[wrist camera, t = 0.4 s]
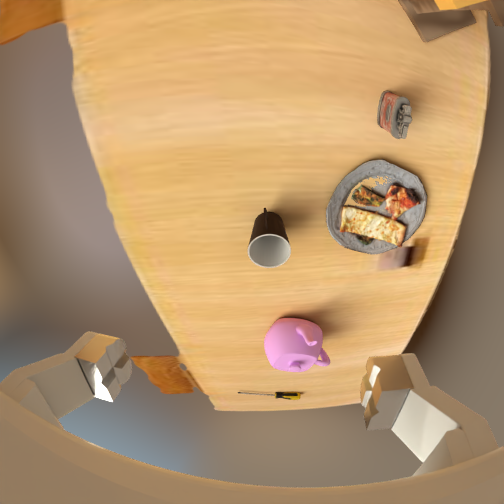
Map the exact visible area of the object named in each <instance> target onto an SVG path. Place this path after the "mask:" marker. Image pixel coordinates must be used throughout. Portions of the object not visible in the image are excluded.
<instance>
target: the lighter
mask: <svg viewBox="0 0 504 504" xmlns="http://www.w3.org/2000/svg"><path fill="white" fill-rule="evenodd" d="M411 109H412V108H411V107H410V102H409V100H408V99H407V98H405V97H403V96H398V95H395V94H393V93H392V92H390V91H384V92H383V93H382V94H381V97H380V100H379V105H378V113H377V121H378V125H379V126H380V127H381V128H383V129H385V130H387V131H388V132H390V133H391V135H392V136H393V137H395V138H397V139H400V138H402V139H405V138H406V136H407V131H408V126H409V124H410V123H411V121H412V117H411Z"/></svg>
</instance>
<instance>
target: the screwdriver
mask: <svg viewBox="0 0 504 504" xmlns="http://www.w3.org/2000/svg"><path fill="white" fill-rule="evenodd" d="M238 393H241V394H254V395H270V396H275V398H284V399H289V400H298V399H300V396H301V395H300V393H299V392H285V393H278V392H276V393H275V395H273V394H256V393H244V392H238Z"/></svg>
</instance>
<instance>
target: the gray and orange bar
mask: <svg viewBox="0 0 504 504" xmlns="http://www.w3.org/2000/svg"><path fill="white" fill-rule="evenodd" d="M434 1H435V3H436V4H437V6H438V8H439V9H440V10H449V9H459V8H462V7H465V6H469V5H472V4H476V3H479V2H483V1H487V0H434Z"/></svg>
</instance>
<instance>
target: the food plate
mask: <svg viewBox="0 0 504 504" xmlns="http://www.w3.org/2000/svg"><path fill="white" fill-rule="evenodd" d="M377 176H379V179H380V177H383V179H384V180H385V178H386V177H384V176H387V177H388V178H386V179H387V181H386V180H385V182H387V184H385V182H384V183H383V185H382V184H379V182H378V181H375V182H376V185H377V186H376V187H375V188H373V187H372V188H371V189H372V191H371V190H369V189H367V188H365V187H364V186H362V185H361V187H359V188H358V189H355V191H354V192H353V195H352V197H351V198H352V199H353V200H354V201H355V202H356V203H358V204H359V203H360V204H363V205H365V206H366V207H359V206H351V205H348V206H346V205H345V206H344V204H345V202H346V200H347V198H348V196H349V194H350V192H351V190H352V189H353V188H354V187H355V186H356V185H357V184H358V183H359V182H362V180H364V179H369V177H372V178H378V177H377ZM389 178H391V179H389ZM395 180H396V181H395ZM390 181H391V182H390ZM388 182H390V183H388ZM377 183H378V184H377ZM384 185H385V186H384ZM376 193H377V194H376ZM426 203H427V194H426V191H425V189H424V186H423V185H422V182H421V180H420V179H419V178H418V177H417V176H415V175H414V174H412V173H410V172H408V171H406V170H404V169H402V168H400V167H397V166H396V165H393V164H390V163H389V162H387V161H385V160H373V161H368V162H366V163H363V164H362V165H361V166H359V167H357V169H356V170H354V171H352V172H351V173H349V174H348V175H347V176H345V177H344V179H343V180H342V181H341V182H340V183H339V184H338V186H337V188H336V190H335V191H334V193H333V195H332V197H331V200H330V202H329V204H328V206H327V209H326V218H327V219H326V220H327V221H326V222H327V227H328V230H329V233H330V234H331V236H332V237H333V238H334V240H336V241H337V242H338V243H339V244H340V245H342V246H344V247H345V248H346V247H347V248H348V249H349V248H350V249H351V250H355V251H359V252H363V253H364V252H365V253H367V254H369V253H370V254H380V253H383V252H386V251H389V250H391V249H394V248H397V247H402V243H403V242H405V241H406V240H408V239H409V238H410V237H411V236H412V235H413V234H414V233H415V231H416V230H417V229H418V228H419V226H420V224H421V223H422V221H423V218H424V216H425V212H426ZM357 207H358V208H357Z"/></svg>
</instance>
